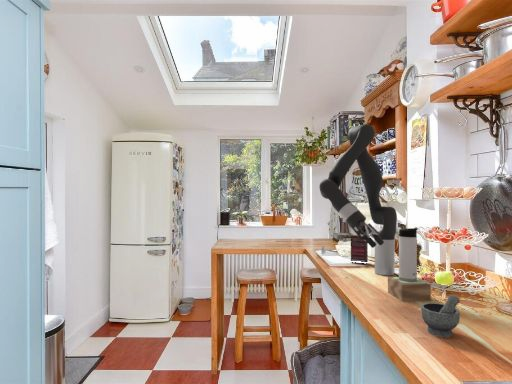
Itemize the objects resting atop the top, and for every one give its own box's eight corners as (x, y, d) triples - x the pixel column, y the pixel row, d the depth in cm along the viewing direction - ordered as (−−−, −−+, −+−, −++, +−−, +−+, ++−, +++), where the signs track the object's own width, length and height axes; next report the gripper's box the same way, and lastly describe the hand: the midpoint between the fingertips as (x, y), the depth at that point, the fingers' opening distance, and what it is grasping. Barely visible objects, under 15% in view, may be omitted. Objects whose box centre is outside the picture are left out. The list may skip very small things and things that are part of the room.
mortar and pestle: (413, 327, 97) (413, 286, 97) (440, 324, 99) (440, 284, 99) (442, 344, 86) (442, 298, 86) (472, 340, 88) (472, 295, 88)
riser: (387, 292, 132) (387, 276, 132) (414, 291, 133) (414, 276, 133) (402, 301, 121) (402, 284, 121) (430, 300, 122) (430, 283, 122)
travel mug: (419, 282, 123) (419, 228, 124) (400, 281, 125) (401, 228, 125) (415, 278, 130) (415, 227, 130) (397, 277, 131) (397, 226, 131)
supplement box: (367, 263, 188) (368, 235, 188) (365, 264, 184) (365, 236, 184) (352, 261, 193) (352, 234, 193) (350, 263, 189) (350, 235, 189)
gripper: (350, 210, 135) (378, 241, 128) (364, 209, 146) (391, 237, 138) (338, 222, 139) (365, 253, 131) (353, 220, 149) (378, 248, 142)
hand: (378, 245), depth 135 cm, fingers open, 8 cm apart
